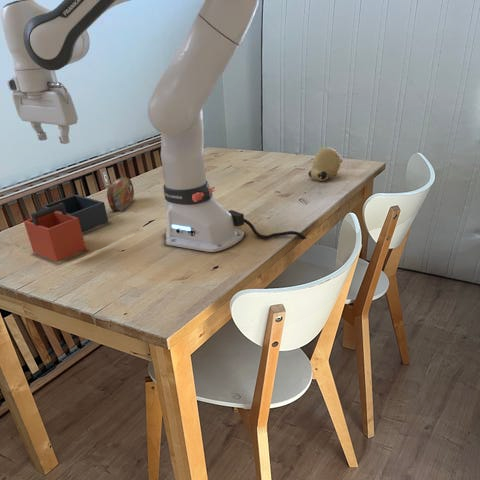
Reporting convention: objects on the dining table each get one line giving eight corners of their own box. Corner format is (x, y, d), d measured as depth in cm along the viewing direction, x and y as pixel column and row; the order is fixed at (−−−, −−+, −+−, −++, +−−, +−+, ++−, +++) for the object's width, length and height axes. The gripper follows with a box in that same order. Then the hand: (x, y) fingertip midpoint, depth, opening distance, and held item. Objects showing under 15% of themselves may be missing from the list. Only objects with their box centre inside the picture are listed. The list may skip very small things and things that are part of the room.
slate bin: (108, 223, 146) (104, 202, 142) (75, 237, 138) (70, 215, 135) (80, 215, 154) (75, 194, 150) (47, 228, 146) (41, 206, 142)
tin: (118, 215, 152) (112, 188, 148) (109, 214, 153) (103, 188, 148) (136, 198, 164) (131, 173, 160) (127, 198, 165) (122, 173, 160)
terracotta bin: (86, 251, 130) (75, 206, 123) (58, 264, 124) (44, 218, 118) (62, 242, 136) (50, 199, 129) (34, 254, 130) (20, 210, 124)
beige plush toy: (314, 185, 176) (298, 170, 169) (329, 155, 176) (314, 139, 168) (334, 190, 170) (319, 175, 162) (350, 159, 169) (336, 142, 161)
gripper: (75, 80, 112) (89, 142, 120) (25, 78, 123) (41, 135, 131) (52, 84, 108) (68, 148, 116) (3, 82, 119) (20, 141, 126)
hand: (53, 141), depth 123 cm, fingers open, 8 cm apart
